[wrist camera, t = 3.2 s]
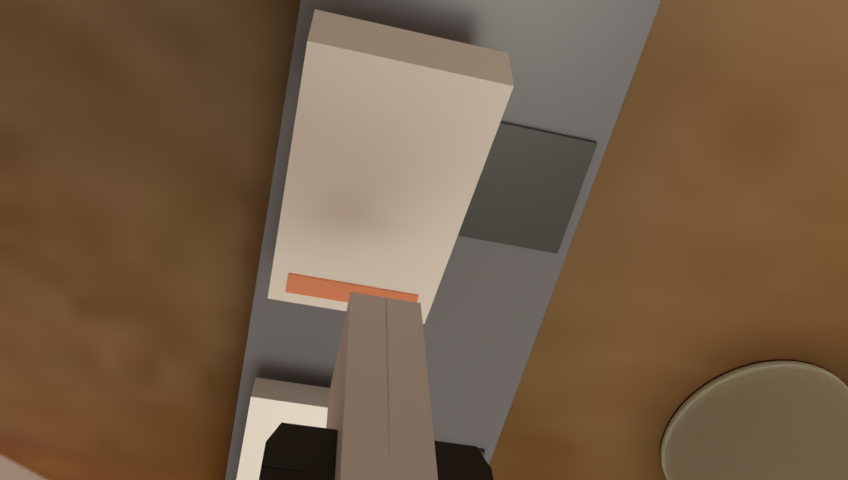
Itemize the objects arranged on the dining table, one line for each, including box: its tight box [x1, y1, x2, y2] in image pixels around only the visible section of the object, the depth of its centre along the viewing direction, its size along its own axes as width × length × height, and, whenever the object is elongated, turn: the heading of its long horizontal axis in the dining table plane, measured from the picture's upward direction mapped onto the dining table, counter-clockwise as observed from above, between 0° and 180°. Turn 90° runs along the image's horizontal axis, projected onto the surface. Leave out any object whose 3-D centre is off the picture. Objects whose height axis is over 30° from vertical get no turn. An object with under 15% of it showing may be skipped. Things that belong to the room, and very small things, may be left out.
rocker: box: [268, 9, 514, 324], centre depth 21 cm, size 9×5×2 cm, turn 167°
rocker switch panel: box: [225, 0, 661, 480], centre depth 26 cm, size 34×10×5 cm, turn 167°
